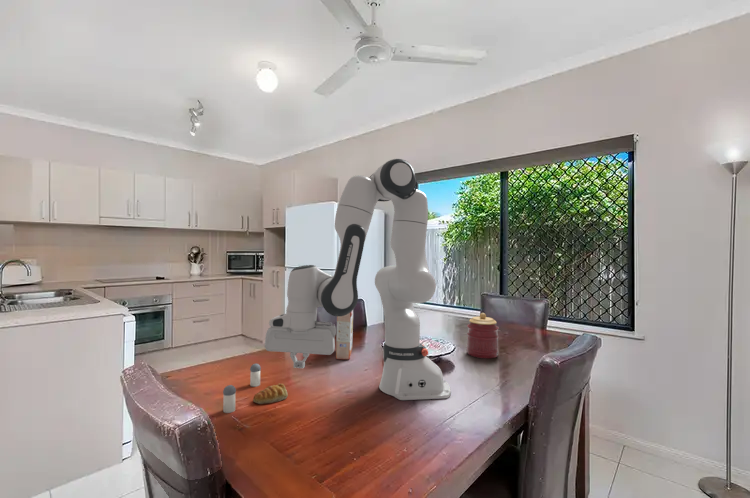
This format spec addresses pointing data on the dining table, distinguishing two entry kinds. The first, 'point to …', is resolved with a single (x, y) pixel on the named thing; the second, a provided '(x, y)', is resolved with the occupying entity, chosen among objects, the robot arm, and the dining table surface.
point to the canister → (482, 337)
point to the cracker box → (344, 336)
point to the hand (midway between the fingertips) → (299, 367)
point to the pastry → (271, 394)
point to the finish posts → (231, 390)
